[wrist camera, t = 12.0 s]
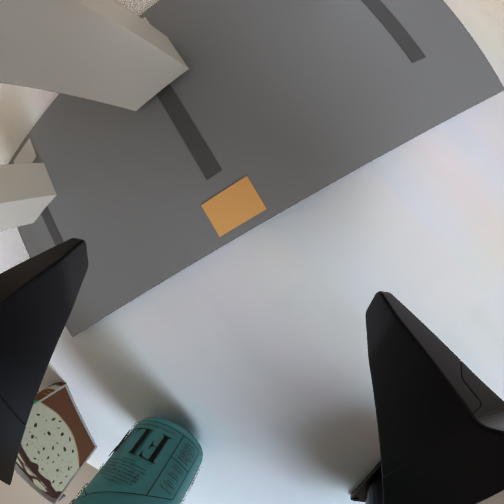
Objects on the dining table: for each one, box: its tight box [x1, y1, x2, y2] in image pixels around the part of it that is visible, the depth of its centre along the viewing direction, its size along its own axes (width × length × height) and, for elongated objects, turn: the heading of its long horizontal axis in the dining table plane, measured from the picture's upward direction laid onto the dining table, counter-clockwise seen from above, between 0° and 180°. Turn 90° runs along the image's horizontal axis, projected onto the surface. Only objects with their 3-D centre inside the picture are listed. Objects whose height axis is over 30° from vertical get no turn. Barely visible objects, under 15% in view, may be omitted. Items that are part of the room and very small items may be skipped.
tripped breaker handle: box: [0, 0, 189, 111], centre depth 10 cm, size 3×4×12 cm
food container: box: [14, 382, 97, 504], centre depth 23 cm, size 12×6×10 cm, turn 7°
